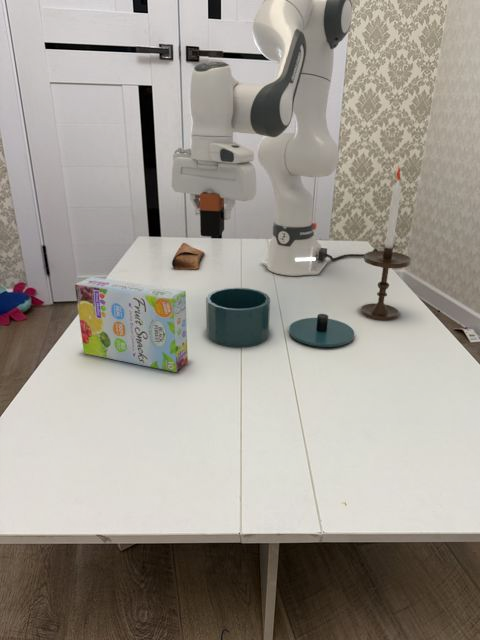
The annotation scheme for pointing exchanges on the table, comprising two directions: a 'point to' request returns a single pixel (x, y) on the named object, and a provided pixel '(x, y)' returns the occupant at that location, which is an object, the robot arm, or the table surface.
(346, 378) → the table surface
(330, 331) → the lid
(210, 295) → the pot
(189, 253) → the sunglasses case
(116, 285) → the snack box
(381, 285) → the candlestick
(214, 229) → the battery
